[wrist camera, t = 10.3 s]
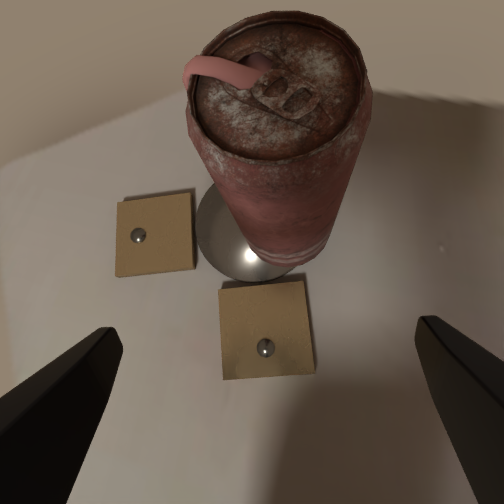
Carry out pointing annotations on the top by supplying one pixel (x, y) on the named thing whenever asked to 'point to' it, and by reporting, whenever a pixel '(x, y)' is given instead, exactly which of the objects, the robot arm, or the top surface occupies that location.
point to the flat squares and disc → (230, 264)
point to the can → (280, 127)
